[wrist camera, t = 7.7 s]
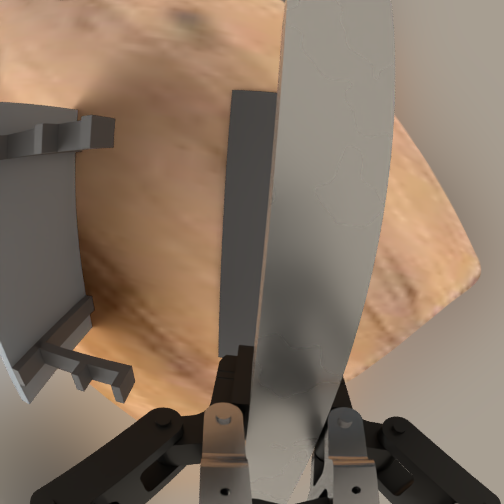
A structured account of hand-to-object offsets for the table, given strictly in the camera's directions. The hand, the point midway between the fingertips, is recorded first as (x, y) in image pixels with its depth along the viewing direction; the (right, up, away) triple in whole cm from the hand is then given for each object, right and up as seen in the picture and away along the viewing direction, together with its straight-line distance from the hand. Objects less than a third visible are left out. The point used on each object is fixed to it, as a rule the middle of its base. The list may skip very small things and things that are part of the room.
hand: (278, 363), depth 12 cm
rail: (0, -1, -1) cm, 1 cm away
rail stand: (-17, +7, +18) cm, 26 cm away
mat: (+1, +6, +18) cm, 19 cm away
